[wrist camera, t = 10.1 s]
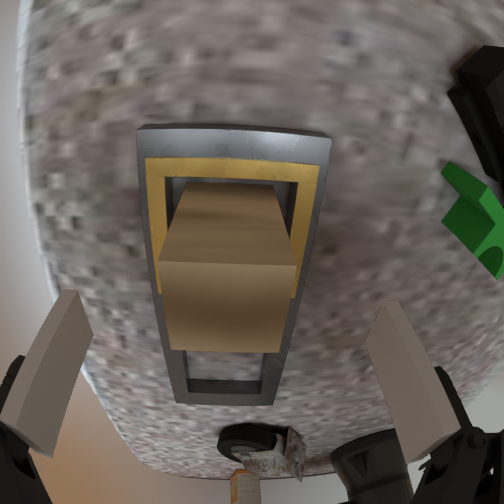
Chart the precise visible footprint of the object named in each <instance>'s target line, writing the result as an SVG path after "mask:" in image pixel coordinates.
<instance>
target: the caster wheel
mask: <svg viewBox="0 0 504 504" xmlns="http://www.w3.org/2000/svg"><path fill="white" fill-rule="evenodd" d="M217 449H218V451H219V452H220V453H221V454H222V455H224V456H225V457H227V458H229V459H231V460H233V461H236V462H239V463H242V464H243V465H244V467H245V469H246V470H247V471H248V472H249V473H251V474H252V475H254V476H258V477H264V478H268V477H288V476H294V477H295V478H297V479H298V480H299V481H300V482H302V477H303V469H304V461H305V452H306V444H305V443H304V442H303V441H302V439H301V438H300V437H299V436H298V435H297V433H296V432H295V431H294V430H293V429H292V427H290V426H289V429H288V436H287V437H285V438H284V437H283V436H281V435H279V434H277V433H271V432H269V431H267V430H265V429H262V428H259V427H254V426H249V425H232V426H228V427H226V428H224V429H223V430H222V431H221V434H220V437H219V440H218V443H217Z"/></svg>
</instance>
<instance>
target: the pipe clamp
mask: <svg viewBox="0 0 504 504" xmlns="http://www.w3.org/2000/svg"><path fill="white" fill-rule="evenodd" d="M441 174H442V175H443V176H444V177H445V179H446V180H447V181H448V182H449V183H450V184H451V185H452V186H453V187H454V188H455V189H456V191H457V192H458V193H459V194H460V195H461V196H460V197H459V199H458V200H457V201H456V203H455V204H454V205H453V207H452V208H451V209H450V211H449V212H448V213H447V215H446V216H445V217H444V219H443V220H442V221H441V222H442V223H443V224H444V225H445V226H446V227H447V228H448V229H449V230H450V231H451V232H452V233H454V234H455V235H456V236H457V238H458V239H459V240H460V241H461V242H462V243H463V244H464V245H465V246H466V247H467V248H468V249H469V250H470V251H471V252H472V253H473V254H474V255H475V256H476V257H477V258H478V260H479V261H480V262H481V263H482V264H483V265H484V266H485V267H486V268H487V270H488V271H489V272H490V273H491V274H492V275H493V276H494V278H495V279H496V280H498V279H499V278H500V276H501V275H502V274H503V273H504V209H503V207H502V206H501V204H500V203H499V201H498V200H497V198H496V197H495V195H494V194H493V192H492V191H491V189H490V188H489V187H488V186H487V185H486V184H484V183H483V182H481V181H480V180H478V179H477V178H475V177H474V176H472V175H471V174H469V173H467V172H466V171H464V170H463V169H461V168H459V167H458V166H456V165H454V164H453V163H451V162H448V164H447V165H446V167H445V168H444V169H443V171H442V172H441Z"/></svg>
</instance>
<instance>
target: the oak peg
mask: <svg viewBox="0 0 504 504" xmlns="http://www.w3.org/2000/svg"><path fill="white" fill-rule="evenodd" d="M157 262H158V270H159V278H160V285H161V292H162V299H163V305H164V312H165V318H166V324H167V330H168V336H169V341H170V347H171V349H172V350H187V351H207V352H244V353H277V352H279V349H280V345H281V340H282V336H283V331H284V327H285V322H286V317H287V313H288V308H289V303H290V298H291V293H292V289H293V284H294V279H295V274H296V268H297V264H296V261H295V257H294V254H293V250H292V247H291V243H290V240H289V237H288V233H287V230H286V227H285V223H284V220H283V217H282V213H281V210H280V207H279V203H278V200H277V197H276V194H275V191H274V187H273V185H257V184H236V183H209V182H187V184H186V186H185V189H184V191H183V194H182V196H181V199H180V201H179V204H178V206H177V209H176V212H175V214H174V217H173V219H172V222H171V225H170V227H169V230H168V233H167V236H166V238H165V241H164V244H163V247H162V249H161V252H160V255H159V258H158V261H157Z"/></svg>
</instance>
